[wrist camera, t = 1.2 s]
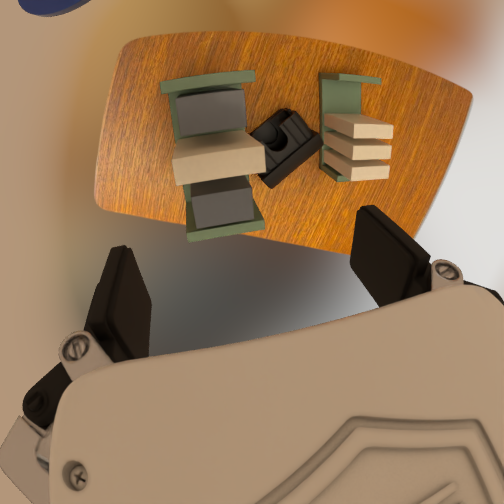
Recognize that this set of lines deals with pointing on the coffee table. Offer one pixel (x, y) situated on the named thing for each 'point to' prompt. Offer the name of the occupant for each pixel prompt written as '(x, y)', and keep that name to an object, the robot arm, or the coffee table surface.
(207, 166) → the cream book
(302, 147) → the end cap
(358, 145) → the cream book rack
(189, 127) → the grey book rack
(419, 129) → the coffee table surface
